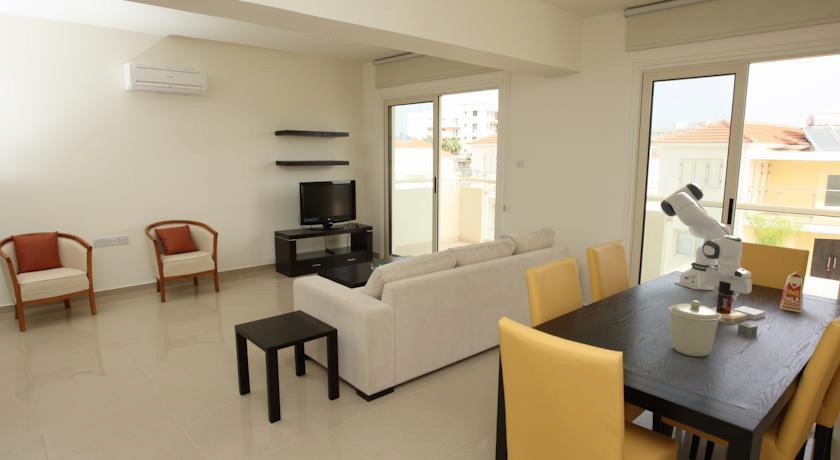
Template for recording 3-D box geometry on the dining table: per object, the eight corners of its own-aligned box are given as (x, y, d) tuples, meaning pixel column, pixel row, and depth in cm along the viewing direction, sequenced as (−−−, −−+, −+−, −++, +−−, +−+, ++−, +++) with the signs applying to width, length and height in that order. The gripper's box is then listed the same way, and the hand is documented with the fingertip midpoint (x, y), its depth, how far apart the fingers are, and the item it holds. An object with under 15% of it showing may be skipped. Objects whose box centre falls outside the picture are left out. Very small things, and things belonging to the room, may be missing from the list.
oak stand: (701, 315, 242) (701, 310, 241) (717, 311, 249) (717, 305, 248) (731, 324, 230) (731, 318, 229) (747, 319, 237) (747, 314, 236)
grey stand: (732, 313, 244) (732, 309, 244) (742, 310, 250) (743, 306, 249) (754, 320, 236) (754, 314, 236) (764, 316, 241) (765, 311, 241)
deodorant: (726, 310, 241) (730, 280, 239) (732, 314, 235) (736, 283, 233) (713, 309, 242) (717, 279, 240) (719, 313, 236) (723, 283, 234)
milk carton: (802, 312, 248) (807, 273, 245) (779, 308, 253) (784, 270, 250) (802, 308, 255) (807, 270, 252) (780, 304, 260) (785, 267, 257)
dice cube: (737, 334, 217) (738, 323, 217) (745, 333, 219) (746, 322, 218) (748, 338, 213) (749, 327, 212) (756, 337, 214) (757, 326, 214)
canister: (671, 339, 211) (676, 291, 207) (720, 350, 199) (726, 299, 196) (660, 352, 197) (664, 301, 193) (712, 365, 185) (718, 311, 182)
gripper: (703, 266, 243) (700, 293, 245) (748, 275, 225) (744, 304, 228) (710, 264, 246) (707, 291, 248) (755, 273, 228) (751, 302, 231)
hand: (725, 298), depth 238 cm, fingers open, 6 cm apart
